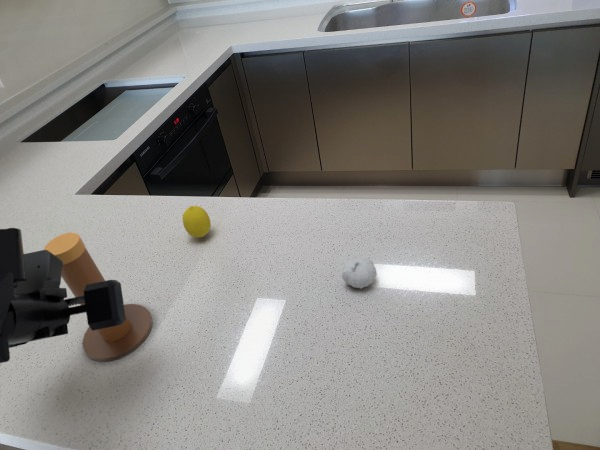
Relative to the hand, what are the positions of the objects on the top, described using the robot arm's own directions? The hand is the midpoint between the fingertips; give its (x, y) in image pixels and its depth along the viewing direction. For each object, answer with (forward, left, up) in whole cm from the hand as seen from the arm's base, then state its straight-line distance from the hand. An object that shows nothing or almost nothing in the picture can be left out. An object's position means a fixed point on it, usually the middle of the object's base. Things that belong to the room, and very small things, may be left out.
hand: (84, 312), depth 70 cm
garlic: (+38, -21, -11) cm, 45 cm away
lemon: (+27, +15, -11) cm, 33 cm away
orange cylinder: (+3, +4, -10) cm, 11 cm away
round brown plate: (+3, +4, -11) cm, 12 cm away
